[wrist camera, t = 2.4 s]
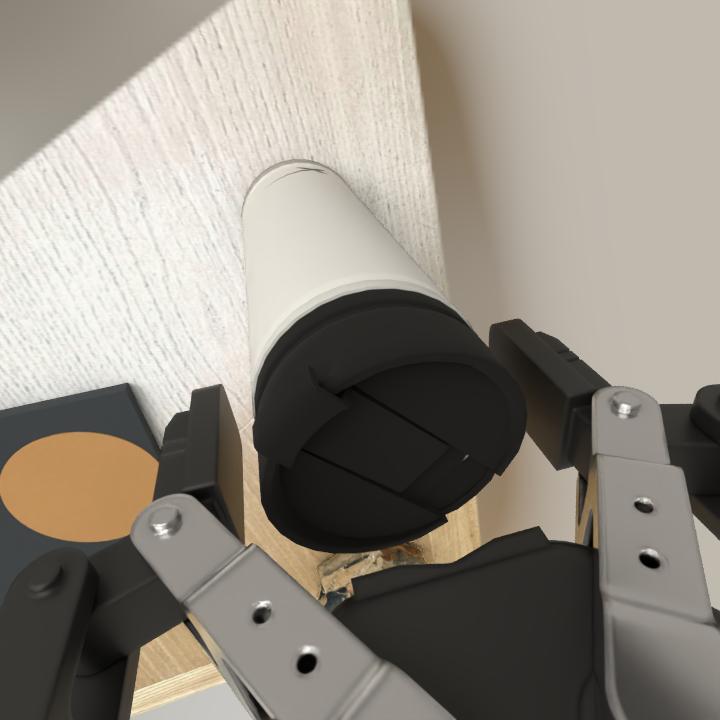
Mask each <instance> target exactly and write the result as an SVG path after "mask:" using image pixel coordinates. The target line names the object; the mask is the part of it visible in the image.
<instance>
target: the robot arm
mask: <svg viewBox="0 0 720 720" xmlns="http://www.w3.org/2000/svg"><path fill="white" fill-rule="evenodd" d="M489 349H490V350H491V351H492V352H493V354H494V355H495V356H496V357H497V358H498V359H499V360H500V361H501V363H502V364H503V365H504V366H505V367H506V368H507V369H508V371H509V372H510V373H511V374H512V375H513V376H514V377H515V379H516V380H517V381H518V382H519V385H520V387H521V389H522V391H523V393H524V396H525V398H526V406H527V414H528V416H527V423H526V430H525V431H526V432H527V433H528V435H529V436H530V437H531V438H532V439H533V441H534V442H535V444H536V445H537V446H538V447H539V449H540V450H541V451H542V452H543V454H544V455H545V456H546V458H547V459H548V460H549V461H550V463H551V464H552V465H553V466H554V468H555V469H556V470H557V471H558V470H561V469H565V468H569V467H573V466H574V467H575V468H576V469H577V470H578V477H577V488H576V526H575V527H576V528H575V543H572V542H567V541H557V540H548V539H547V537H546V536H545V534H544V533H543V531H542V530H541V528H540V527H539V526H537V527H533V528H530V529H526V530H523V531H519V532H515V533H512V534H509V535H505V536H501V537H498V538H494V539H493V540H491V541H490V542H488V543H486V544H484V545H482V546H481V547H479V548H477V549H476V550H474V551H472V552H471V553H469V554H467V555H466V556H464V557H462V558H460V559H459V560H457V561H455V562H452V563H447V564H419V565H398V566H394V567H390V568H387V569H383V570H380V571H376V572H373V573H369V574H365V575H362V576H358V577H355V578H351V583H352V587H353V592H354V594H353V595H352V596H350V597H348V598H347V599H345V600H344V601H342V602H341V603H340V604H338V605H337V606H336V607H334V608H333V609H332V610H331V611H330V612H329V611H328V610H327V609H326V608H325V607H324V606H323V605H322V604H321V603H319V602H318V601H317V600H316V599H315V598H314V597H313V596H312V595H311V594H310V593H309V592H308V591H307V590H305V589H304V588H303V587H302V586H301V585H300V584H299V583H298V582H297V581H296V580H295V579H294V578H293V577H291V576H290V575H289V574H288V573H287V572H286V571H285V570H284V569H283V568H282V567H281V566H280V565H278V564H277V563H276V562H275V561H274V560H273V559H272V558H271V557H270V556H269V555H268V554H267V553H266V552H264V551H263V550H262V549H261V548H260V547H259V546H257V545H256V544H253V543H251V544H250V545H249V546H248V547H246V546H245V535H244V498H243V460H242V444H241V438H240V434H239V430H238V427H237V424H236V421H235V418H234V415H233V412H232V409H231V406H230V403H229V401H228V398H227V395H226V392H225V389H224V387H223V385H222V384H218V385H213V386H209V387H204V388H200V389H195V390H193V391H192V396H191V404H190V410H189V411H184V412H180V413H176V414H175V415H174V417H173V418H172V420H171V421H170V422H169V424H168V425H167V427H166V428H165V433H164V438H163V446H162V450H161V458H160V461H159V466H158V472H157V477H156V483H155V489H154V494H153V500H152V503H151V504H149V505H148V506H147V507H145V508H144V509H143V510H142V511H141V512H140V513H139V515H138V516H137V517H136V519H135V520H134V522H133V524H132V527H131V531H130V534H129V535H127V536H126V537H125V538H123V539H121V540H120V541H118V542H116V543H114V544H112V545H110V546H108V547H106V548H104V549H102V550H100V551H98V552H96V553H95V554H93V555H91V556H89V557H87V556H86V555H85V553H84V552H83V551H81V550H80V549H77V548H73V547H64V548H59V549H56V550H53V551H50V552H48V553H46V554H44V555H42V556H40V557H38V558H37V559H35V560H34V561H32V562H31V563H30V564H29V565H27V566H26V567H25V568H24V569H23V570H22V571H21V572H20V573H19V574H18V575H17V577H16V578H15V579H14V581H13V582H12V584H11V585H10V587H9V589H8V591H7V594H6V596H5V599H4V601H3V603H2V606H1V608H0V720H129V719H130V714H131V707H132V701H133V694H134V687H135V681H136V674H137V668H138V661H139V655H140V648H141V647H142V646H144V645H145V644H147V643H148V642H150V641H152V640H153V639H155V638H157V637H158V636H160V635H162V634H163V633H165V632H167V631H168V630H170V629H171V628H173V627H175V626H176V625H178V624H180V623H182V624H183V625H184V627H185V628H186V629H187V630H188V632H189V633H190V634H191V636H192V637H193V638H194V640H195V641H196V642H197V644H198V645H199V646H200V648H201V649H202V650H203V651H204V653H205V654H206V655H207V657H208V658H209V659H210V661H211V662H212V663H213V665H214V666H215V667H216V669H217V670H218V671H219V672H220V674H221V675H222V676H223V678H224V679H225V681H226V682H227V683H228V685H229V686H230V688H231V689H232V691H233V692H234V694H235V695H236V697H237V698H238V699H239V701H240V702H241V704H242V705H243V707H244V708H245V709H246V711H247V712H248V714H249V715H250V716H251V718H252V719H253V720H720V611H719V610H717V609H715V608H713V607H711V603H710V599H709V594H708V589H707V584H706V579H705V575H704V569H703V564H702V559H701V554H700V550H699V545H698V540H697V535H696V530H695V525H694V520H693V515H692V513H693V514H694V515H695V516H696V517H697V518H698V519H699V520H700V521H701V522H702V523H703V524H704V525H705V526H706V527H707V528H708V529H709V530H710V531H711V532H712V533H713V534H714V535H715V536H716V537H717V538H718V539H719V540H720V384H717V385H709V386H705V387H703V388H701V389H700V390H699V391H698V392H697V394H696V397H695V399H694V403H693V404H658V402H657V401H656V400H655V399H654V398H653V397H651V396H650V395H648V394H646V393H645V392H643V391H640V390H637V389H634V388H630V387H624V386H611V385H610V384H609V383H608V382H607V381H606V380H604V379H603V378H602V377H601V376H600V375H599V374H597V373H596V372H595V371H594V370H593V369H592V368H591V367H589V366H588V365H587V364H586V363H585V362H584V361H583V360H579V357H578V356H577V355H576V354H574V353H573V352H572V351H569V348H567V347H566V346H565V345H564V344H563V343H562V342H560V341H559V340H558V339H557V338H554V337H552V336H550V335H547V334H545V333H543V332H536V333H535V332H534V331H533V330H532V329H531V328H530V327H528V326H527V325H526V324H525V323H524V322H523V321H522V320H521V319H513V320H509V321H504V322H500V323H496V324H492V325H491V327H490V331H489Z"/></svg>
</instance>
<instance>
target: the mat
mask: <svg viewBox="0 0 720 720" xmlns="http://www.w3.org/2000/svg"><path fill="white" fill-rule="evenodd" d="M160 458H161V451H160V449H159V447H158V445H157V443H156V441H155V439H154V437H153V435H152V433H151V430H150V428H149V426H148V424H147V422H146V420H145V418H144V416H143V414H142V412H141V409H140V407H139V405H138V403H137V401H136V399H135V397H134V395H133V393H132V391H131V388H130V386H129V384H128V383H125V384H121V385H116V386H111V387H107V388H102V389H98V390H93V391H88V392H84V393H79V394H74V395H70V396H65V397H61V398H56V399H51V400H47V401H42V402H37V403H33V404H28V405H23V406H19V407H14V408H10V409H5V410H0V608H1V606H2V603H3V601H4V599H5V596H6V594H7V591H8V589H9V587H10V585H11V584H12V582H13V581H14V579H15V578H16V577H17V575H18V574H19V573H20V572H21V571H22V570H23V569H24V568H25V567H26V566H27V565H29V564H30V563H31V562H32V561H34V560H35V559H37V558H38V557H40V556H42V555H44V554H46V553H48V552H50V551H53V550H56V549H59V548H64V547H73V548H77V549H80V550H81V551H83V552H84V553H85V555H86V556H87V557H89V556H91V555H93V554H95V553H96V552H98V551H100V550H102V549H104V548H106V547H108V546H110V545H112V544H114V543H116V542H118V541H120V540H121V539H123V538H125V537H126V536H127V535H129V534H130V531H131V527H132V524H133V522H134V520H135V519H136V517H137V516H138V515H139V513H140V512H141V511H142V510H143V509H144V508H145V507H147V506H148V505H149V504H151V503H152V500H153V494H154V489H155V483H156V477H157V472H158V466H159V461H160Z"/></svg>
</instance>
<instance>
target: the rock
mask: <svg viewBox="0 0 720 720" xmlns="http://www.w3.org/2000/svg"><path fill="white" fill-rule="evenodd" d="M421 551H422V550H421V549H417V548H416V547H415V546H411V545H408V544H405V543H404V544H402V545H399V546H395V547H391V548H387V549H383V550H379V551H372V552H364V553H357V554H336V555H334V556H333V557H331V558H330V559H329V560H326V561H325V562H324V563H322V564H320V565H318V566H317V571H318V574H319V575H320V577H321V584H320V586H319V590H318V593H317V597H318V602H319V603H321V604H322V605H323V606H324V607H325V608H326V609H327V610H328V611H329V612H330V611H331V610H332V609H333V608H334V607H336V606H337V605H338V604H340V603H341V602H342V601H344V600H345V599H347V598H348V597H350V596H352V595H353V594H354V592H353V587H352V583H351V578H355V577H358V576H362V575H365V574H369V573H373V572H376V571H380V570H383V569H387V568H390V567H394V566H398V565H419V564H424V559H423V558H422V557H421V553H422V552H421Z"/></svg>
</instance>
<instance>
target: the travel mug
mask: <svg viewBox="0 0 720 720" xmlns="http://www.w3.org/2000/svg"><path fill="white" fill-rule="evenodd" d="M241 217H242V234H243V252H244V269H245V286H246V304H247V321H248V339H249V356H250V374H251V387H252V388H251V391H252V405H253V416H254V419H255V422H254V424H253V427H252V429H253V442H254V447H255V449H256V451H257V452H258V462H259V479H260V493H261V503H262V506H263V508H264V510H265V513H266V515H267V517H268V520H269V521H270V522H271V523H272V524H273V525H274V527H275V528H276V529H277V530H278V531H279V532H280V533H281V534H282V535H283V536H285V537H287V538H288V539H290V540H291V541H293V542H294V543H296V544H298V545H301V546H304V547H306V548H309V549H312V550H315V551H321V552H328V553H334V554H357V553H364V552H372V551H379V550H383V549H387V548H391V547H395V546H399V545H402V544H404V543H407V542H410V541H413V540H415V539H418V538H421V537H422V536H424V535H426V534H428V533H429V532H431V531H433V530H435V529H436V528H438V527H440V526H442V525H443V524H445V523H447V522H448V520H447V518H446V514H448V513H450V512H452V511H455V510H457V509H459V508H460V507H461V506H462V505H464V504H465V503H466V502H468V501H469V500H470V499H472V498H473V497H474V496H476V495H477V493H479V492H480V491H481V490H482V489H483V488H484V487H485V486H486V485H487V484H488V483H489V482H490V481H491V480H492V477H493V476H494V474H495V473H496V474H497V475H499V476H501V475H502V473H503V472H504V471H505V469H506V468H507V467H508V465H509V464H510V463H511V461H512V460H513V459H514V457H515V456H516V454H517V453H518V451H519V449H520V446H521V443H522V441H523V438H524V435H525V430H526V423H527V416H528V414H527V406H526V398H525V396H524V393H523V391H522V389H521V387H520V385H519V382H518V381H517V380H516V379H515V377H514V376H513V375H512V374H511V373H510V372H509V371H508V369H507V368H506V367H505V366H504V365H503V364H502V363H501V361H500V360H499V359H498V358H497V357H496V356H495V355H494V354H493V352H492V351H491V350H490V349H489V348H488V347H487V346H486V344H485V343H484V342H483V341H482V340H481V339H480V338H479V337H478V335H477V334H476V333H475V332H474V330H473V328H472V326H471V324H470V323H469V322H468V321H467V319H466V318H465V317H464V316H463V315H462V314H461V313H460V312H459V310H458V309H457V308H456V307H455V306H454V305H453V304H452V302H451V301H450V300H449V299H448V298H447V297H446V296H445V295H444V293H443V292H442V291H441V290H440V289H439V288H438V287H437V286H436V284H435V283H434V282H433V281H432V280H431V279H430V278H429V277H428V275H427V274H426V273H425V272H424V271H423V270H422V269H421V268H420V266H419V265H418V264H417V263H416V262H415V261H414V260H413V259H412V257H411V256H410V255H409V254H408V253H407V252H406V251H405V250H404V248H403V247H402V246H401V245H400V244H399V243H398V242H397V241H396V239H395V238H394V237H393V236H392V235H391V234H390V233H389V232H388V230H387V229H386V228H385V227H384V226H383V225H382V224H381V223H380V221H379V220H378V219H377V218H376V217H375V216H374V215H373V214H372V212H371V211H370V210H369V209H368V208H367V207H366V206H365V205H364V203H363V202H362V201H361V200H360V199H359V198H358V197H357V195H356V194H355V193H354V192H353V191H352V190H351V189H350V188H349V186H348V185H347V184H346V183H345V182H344V181H343V180H342V179H341V178H340V176H339V175H338V174H337V173H335V172H334V171H332V170H331V169H330V168H328V167H326V166H324V165H322V164H320V163H318V162H314V161H309V160H297V159H293V160H288V161H283V162H280V163H278V164H275V165H273V166H271V167H269V168H268V169H267V170H265V171H264V172H262V173H261V174H260V175H259V176H258V177H257V178H256V179H255V180H254V182H253V183H252V184H251V186H250V188H249V189H248V191H247V193H246V196H245V199H244V202H243V207H242V215H241Z"/></svg>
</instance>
